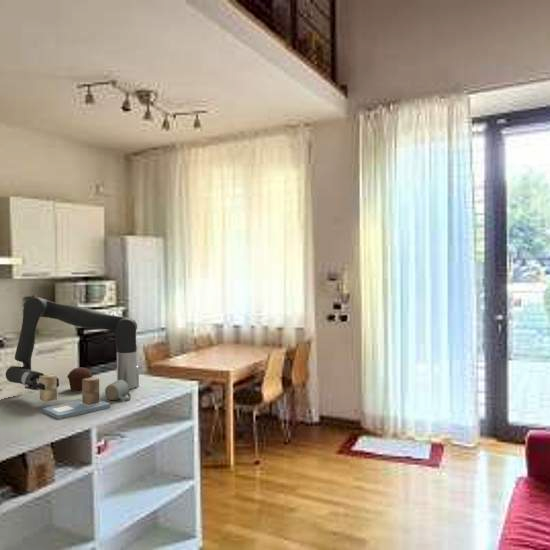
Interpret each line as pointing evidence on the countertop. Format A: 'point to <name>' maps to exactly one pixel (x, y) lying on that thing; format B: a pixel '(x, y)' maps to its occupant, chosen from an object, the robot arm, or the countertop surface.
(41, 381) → the oak pillar
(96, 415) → the countertop surface
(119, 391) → the ceramic mug
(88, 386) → the walnut pillar
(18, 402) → the countertop surface
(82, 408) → the board
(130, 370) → the robot arm
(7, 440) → the countertop surface
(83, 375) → the muffin
